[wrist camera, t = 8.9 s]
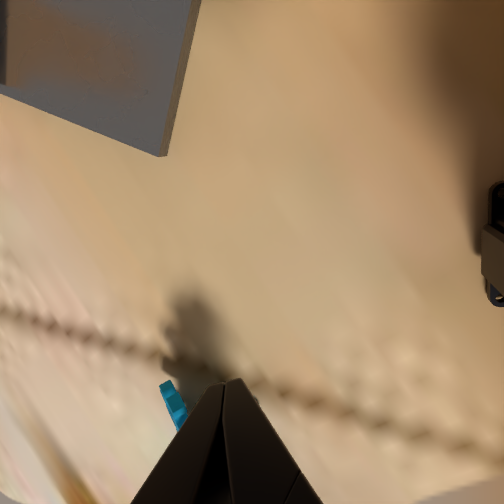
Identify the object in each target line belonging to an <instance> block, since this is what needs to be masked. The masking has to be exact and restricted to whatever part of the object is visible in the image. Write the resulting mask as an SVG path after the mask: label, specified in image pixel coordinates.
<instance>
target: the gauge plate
mask: <svg viewBox="0 0 504 504" xmlns="http://www.w3.org/2000/svg"><path fill="white" fill-rule="evenodd" d="M200 4H201V0H0V94H3V95H5V96H8V97H10V98H13V99H15V100H18V101H20V102H23V103H25V104H28V105H30V106H33V107H35V108H38V109H40V110H43V111H45V112H48V113H50V114H53V115H55V116H57V117H60V118H62V119H65V120H67V121H70V122H72V123H75V124H77V125H80V126H82V127H85V128H87V129H90V130H92V131H95V132H97V133H100V134H102V135H105V136H107V137H110V138H112V139H115V140H117V141H119V142H122V143H124V144H127V145H129V146H132V147H134V148H137V149H139V150H142V151H144V152H147V153H149V154H152V155H154V156H157V157H163V156H167V152H168V148H169V143H170V139H171V134H172V130H173V125H174V121H175V116H176V112H177V107H178V103H179V98H180V94H181V89H182V85H183V80H184V76H185V71H186V67H187V62H188V58H189V53H190V49H191V44H192V40H193V35H194V31H195V26H196V22H197V17H198V13H199V8H200Z"/></svg>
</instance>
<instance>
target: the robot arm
mask: <svg viewBox="0 0 504 504" xmlns="http://www.w3.org/2000/svg"><path fill="white" fill-rule="evenodd" d="M501 188H504V181H500V182H497V183H495V184H494V185H492V186H491V188H490V189H489V195H488V224H486V225H485V226H484V227H483V228H482V244H481V273H482V275H483V276H484V277H485V278H486V279H487V297H488V300H489V301H490V302H491V303H492V304H493V305H494V306H497V307H504V196H502V197H499V196H498V191H499V190H500V189H501ZM499 294H502V295H503V297H502V298H501V299H495V298H496V296H497V295H499ZM130 504H323V502H322V501H321V499H320V498H319V497H318V495H317V494H316V492H315V491H314V489H313V488H312V486H311V485H310V483H309V482H308V480H307V479H306V477H305V476H304V474H303V473H302V472H301V470H300V468H299V467H298V465H297V463H296V462H295V460H294V459H293V457H292V456H291V454H290V453H289V451H288V449H287V448H286V446H285V445H284V443H283V442H282V440H281V439H280V437H279V435H278V434H277V432H276V431H275V429H274V428H273V426H272V425H271V423H270V421H269V420H268V418H267V417H266V415H265V414H264V412H263V411H262V409H261V408H260V406H259V404H258V403H257V401H256V400H255V398H254V397H253V395H252V394H251V392H250V390H249V389H248V387H247V386H246V384H245V383H244V381H243V380H242V379H241V378H237V379H233V380H228V381H227V382H226V383H224V382H220V383H216V384H211V385H209V386H208V387H207V388H206V390H205V391H204V393H203V394H202V396H201V397H200V399H199V400H198V402H197V403H196V405H195V406H194V408H193V409H192V411H191V413H190V414H189V416H188V417H187V419H186V420H185V422H184V423H183V425H182V426H181V428H180V429H179V431H178V432H177V434H176V435H175V437H174V438H173V440H172V441H171V443H170V444H169V446H168V447H167V449H166V450H165V452H164V453H163V455H162V456H161V458H160V459H159V461H158V462H157V464H156V465H155V467H154V469H153V470H152V472H151V473H150V475H149V476H148V478H147V479H146V481H145V482H144V484H143V485H142V487H141V488H140V490H139V491H138V493H137V494H136V496H135V497H134V499H133V500H132V502H131V503H130Z"/></svg>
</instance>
